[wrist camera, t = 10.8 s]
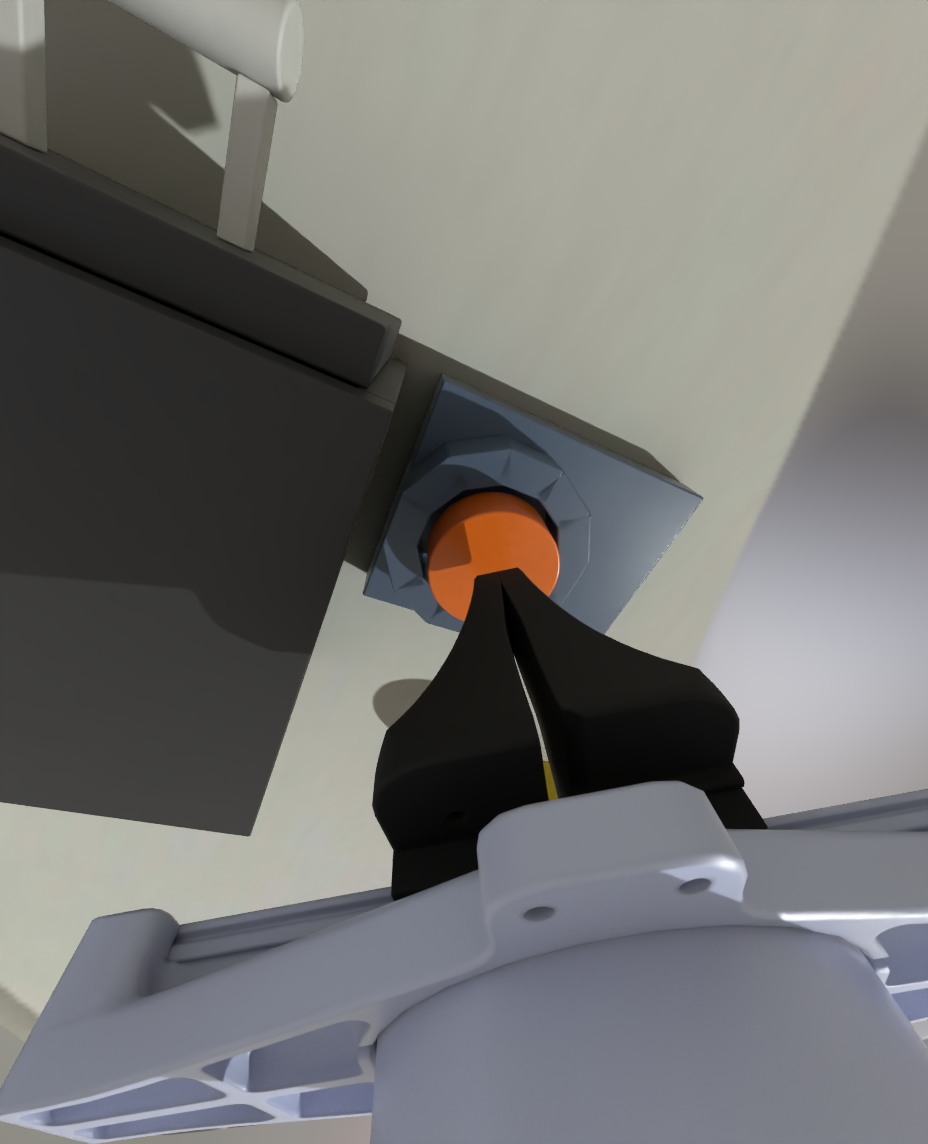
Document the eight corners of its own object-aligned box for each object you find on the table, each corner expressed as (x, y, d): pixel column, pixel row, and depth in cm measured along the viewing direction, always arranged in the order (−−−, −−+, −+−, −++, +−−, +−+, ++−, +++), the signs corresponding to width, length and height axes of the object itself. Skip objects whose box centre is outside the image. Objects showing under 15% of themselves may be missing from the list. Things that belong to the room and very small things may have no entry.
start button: (409, 578, 16) (408, 605, 15) (455, 471, 14) (459, 490, 13) (514, 611, 17) (522, 640, 16) (570, 516, 15) (585, 539, 14)
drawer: (-57, -144, 9) (-929, -972, 3) (452, 162, 12) (478, 25, 6) (4, 554, 17) (-219, 683, 11) (302, 634, 20) (252, 767, 14)
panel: (363, 573, 20) (352, 621, 17) (438, 370, 16) (441, 384, 13) (574, 639, 22) (597, 689, 20) (682, 483, 18) (733, 516, 15)
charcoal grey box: (-27, 164, 12) (-744, -68, 5) (408, 363, 15) (393, 411, 8) (8, 584, 18) (-267, 765, 11) (308, 660, 22) (250, 837, 14)
